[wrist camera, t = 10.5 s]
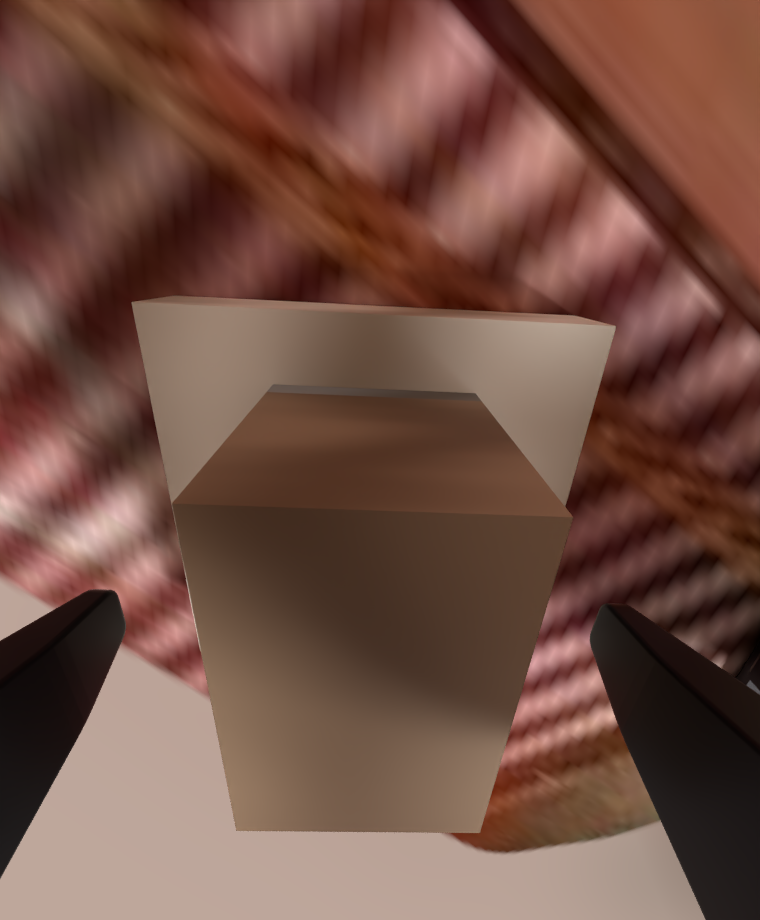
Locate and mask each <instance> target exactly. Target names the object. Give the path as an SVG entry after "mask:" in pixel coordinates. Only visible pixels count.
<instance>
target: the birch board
mask: <svg viewBox="0 0 760 920" xmlns="http://www.w3.org/2000/svg"><path fill="white" fill-rule="evenodd" d="M131 303H132V308H133V313H134V319H135V324H136V329H137V334H138V339H139V344H140V349H141V354H142V359H143V364H144V369H145V374H146V379H147V384H148V389H149V394H150V399H151V404H152V409H153V414H154V419H155V424H156V429H157V434H158V440H159V445H160V450H161V455H162V460H163V465H164V470H165V475H166V480H167V485H168V490H169V495H170V500H171V505H172V503H173V502H174V500H175V499H176V498H177V497H178V496H179V494H180V493H181V492H182V491H183V490H184V489H185V487H186V486H187V485H188V484H189V483H190V482H191V480H192V479H193V478H194V477H195V476H196V474H197V473H198V472H199V471H200V470H201V469H202V467H203V466H204V465H205V464H206V463H207V461H208V460H209V459H210V458H211V457H212V456H213V454H214V453H215V452H216V451H217V450H218V449H219V447H220V446H221V445H222V444H223V443H224V441H225V440H226V439H227V438H228V437H229V436H230V434H231V433H232V432H233V431H234V430H235V429H236V427H237V426H238V425H239V424H240V423H241V421H242V420H243V419H244V418H245V417H246V416H247V414H248V413H249V412H250V411H251V410H252V409H253V407H254V406H255V405H256V404H257V403H258V401H259V400H260V399H261V398H262V397H263V396H264V394H265V393H266V392H267V391H268V390H269V389H270V387H271V386H272V385H273V384H275V385H298V386H321V387H344V388H367V389H389V390H412V391H435V392H458V393H476V395H477V396H478V397H479V398H480V400H481V401H482V402H483V404H484V405H485V406H486V407H487V409H488V410H489V411H490V412H491V414H492V415H493V416H494V417H495V419H496V420H497V421H498V423H499V424H500V425H501V426H502V428H503V429H504V430H505V431H506V433H507V434H508V435H509V436H510V438H511V439H512V440H513V441H514V443H515V444H516V445H517V447H518V448H519V449H520V450H521V452H522V453H523V454H524V455H525V457H526V458H527V459H528V460H529V462H530V463H531V464H532V466H533V467H534V468H535V469H536V471H537V472H538V473H539V474H540V476H541V477H542V478H543V479H544V481H545V482H546V483H547V485H548V486H549V487H550V488H551V490H552V491H553V492H554V493H555V495H556V496H557V497H558V498H559V500H560V501H561V502H562V504H563V505H564V506H566V502H567V499H568V495H569V492H570V488H571V485H572V481H573V478H574V474H575V471H576V467H577V463H578V460H579V456H580V453H581V449H582V446H583V442H584V439H585V435H586V432H587V428H588V425H589V421H590V418H591V414H592V410H593V407H594V403H595V400H596V396H597V393H598V389H599V386H600V382H601V379H602V375H603V372H604V368H605V365H606V361H607V357H608V354H609V350H610V347H611V343H612V340H613V336H614V333H615V329H616V326H614V325H610V324H606V323H602V322H598V321H594V320H590V319H586V318H582V317H578V316H574V315H554V314H534V313H514V312H494V311H474V310H454V309H434V308H414V307H394V306H374V305H354V304H334V303H315V302H295V301H275V300H255V299H235V298H215V297H195V296H168V297H161V298H155V299H148V300H142V301H135V302H131ZM172 510H173V507H172ZM173 515H174V512H173ZM174 520H175V517H174ZM175 525H176V522H175ZM176 530H177V527H176ZM177 535H178V532H177ZM178 540H179V538H178ZM179 545H180V543H179ZM180 550H181V548H180ZM181 556H182V553H181ZM182 561H183V558H182ZM183 566H184V563H183ZM184 571H185V568H184ZM185 576H186V573H185ZM186 581H187V578H186ZM187 586H188V583H187ZM188 591H189V588H188ZM189 596H190V593H189ZM190 601H191V598H190ZM191 606H192V603H191ZM192 611H193V608H192ZM193 616H194V614H193ZM194 621H195V619H194ZM195 626H196V624H195ZM196 631H197V629H196ZM197 636H198V634H197ZM198 641H199V639H198ZM199 646H200V644H199ZM200 650H201V649H200Z"/></svg>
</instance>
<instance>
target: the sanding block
mask: <svg viewBox="0 0 760 920" xmlns="http://www.w3.org/2000/svg"><path fill="white" fill-rule="evenodd" d="M172 507H173V512H174V517H175V522H176V527H177V532H178V538H179V543H180V548H181V553H182V558H183V563H184V568H185V573H186V578H187V583H188V588H189V593H190V598H191V603H192V608H193V614H194V619H195V624H196V629H197V634H198V639H199V644H200V649H201V654H202V659H203V664H204V669H205V674H206V679H207V684H208V689H209V695H210V700H211V705H212V710H213V715H214V720H215V725H216V730H217V735H218V740H219V745H220V750H221V755H222V760H223V765H224V770H225V775H226V780H227V786H228V790H229V796H230V800H231V806H232V811H233V816H234V821H235V826H236V831H321V832H323V831H324V832H327V831H328V832H433V833H437V832H438V833H480V830H481V827H482V823H483V820H484V817H485V813H486V810H487V806H488V803H489V800H490V796H491V793H492V790H493V786H494V783H495V780H496V776H497V773H498V769H499V766H500V763H501V759H502V756H503V753H504V749H505V746H506V742H507V739H508V736H509V732H510V729H511V726H512V722H513V719H514V716H515V712H516V709H517V705H518V702H519V699H520V695H521V692H522V689H523V685H524V682H525V678H526V675H527V672H528V668H529V665H530V662H531V658H532V655H533V652H534V648H535V645H536V641H537V638H538V635H539V631H540V628H541V625H542V621H543V618H544V614H545V611H546V608H547V604H548V601H549V598H550V594H551V591H552V588H553V584H554V581H555V577H556V574H557V571H558V567H559V564H560V561H561V557H562V554H563V550H564V547H565V544H566V540H567V537H568V534H569V530H570V527H571V524H572V520H573V516H572V515H571V514H570V512H569V511H568V510H567V509H566V507H565V506H564V505H563V504H562V502H561V501H560V500H559V498H558V497H557V496H556V495H555V493H554V492H553V491H552V490H551V488H550V487H549V486H548V485H547V483H546V482H545V481H544V479H543V478H542V477H541V476H540V474H539V473H538V472H537V471H536V469H535V468H534V467H533V466H532V464H531V463H530V462H529V460H528V459H527V458H526V457H525V455H524V454H523V453H522V452H521V450H520V449H519V448H518V447H517V445H516V444H515V443H514V441H513V440H512V439H511V438H510V436H509V435H508V434H507V433H506V431H505V430H504V429H503V428H502V426H501V425H500V424H499V423H498V421H497V420H496V419H495V417H494V416H493V415H492V414H491V412H490V411H489V410H488V409H487V407H486V406H485V405H484V404H483V402H482V401H481V400H480V398H479V397H478V396H477V395H476V393H458V392H435V391H412V390H389V389H367V388H344V387H321V386H298V385H275V384H273V385H272V386H271V387H270V389H269V390H268V391H267V392H266V393H265V394H264V396H263V397H262V398H261V399H260V400H259V401H258V403H257V404H256V405H255V406H254V407H253V409H252V410H251V411H250V412H249V413H248V414H247V416H246V417H245V418H244V419H243V420H242V421H241V423H240V424H239V425H238V426H237V427H236V429H235V430H234V431H233V432H232V433H231V434H230V436H229V437H228V438H227V439H226V440H225V441H224V443H223V444H222V445H221V446H220V447H219V449H218V450H217V451H216V452H215V453H214V454H213V456H212V457H211V458H210V459H209V460H208V461H207V463H206V464H205V465H204V466H203V467H202V469H201V470H200V471H199V472H198V473H197V474H196V476H195V477H194V478H193V479H192V480H191V482H190V483H189V484H188V485H187V486H186V487H185V489H184V490H183V491H182V492H181V493H180V494H179V496H178V497H177V498H176V499H175V500H174V502H173V503H172Z"/></svg>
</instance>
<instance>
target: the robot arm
mask: <svg viewBox="0 0 760 920" xmlns="http://www.w3.org/2000/svg"><path fill="white" fill-rule="evenodd" d="M125 630H126V622H125V618H124V615H123V611H122V608H121V604H120V601H119V598H118V595H117V593H116V592H115V591H113V590H101V589H93V590H88V591H86V592H84V593H82V594H81V595H79V596H77V597H75V598H74V599H72V600H70V601H68V602H67V603H65V604H63V605H61V606H60V607H58V608H56V609H55V610H53V611H51V612H49V613H48V614H46V615H44V616H43V617H41V618H39V619H37V620H36V621H34V622H32V623H31V624H29V625H27V626H25V627H23V628H22V629H20V630H18V631H17V632H15V633H13V634H11V635H10V636H8V637H6V638H4V639H3V640H1V641H0V878H1V876H2V874H3V873H4V871H5V869H6V867H7V865H8V864H9V862H10V860H11V858H12V856H13V855H14V853H15V851H16V849H17V847H18V846H19V844H20V842H21V840H22V838H23V836H24V835H25V833H26V831H27V829H28V827H29V826H30V823H31V822H32V820H33V818H34V816H35V814H36V813H37V811H38V809H39V807H40V806H41V804H42V802H43V800H44V798H45V796H46V795H47V793H48V791H49V789H50V787H51V785H52V784H53V782H54V780H55V778H56V776H57V775H58V773H59V771H60V769H61V767H62V766H63V764H64V762H65V760H66V758H67V757H68V755H69V753H70V751H71V749H72V747H73V746H74V744H75V742H76V740H77V738H78V736H79V734H80V733H81V731H82V729H83V727H84V725H85V723H86V721H87V719H88V717H89V715H90V713H91V710H92V708H93V706H94V704H95V701H96V699H97V697H98V695H99V692H100V690H101V688H102V685H103V683H104V681H105V678H106V676H107V674H108V672H109V669H110V667H111V665H112V662H113V660H114V658H115V655H116V653H117V651H118V649H119V646H120V644H121V642H122V640H123V637H124V634H125ZM590 644H591V648H592V651H593V654H594V657H595V660H596V663H597V666H598V669H599V671H600V674H601V677H602V680H603V683H604V686H605V689H606V692H607V695H608V697H609V700H610V703H611V706H612V709H613V712H614V715H615V718H616V720H617V723H618V725H619V728H620V731H621V733H622V736H623V738H624V740H625V743H626V745H627V747H628V749H629V752H630V754H631V756H632V758H633V760H634V763H635V765H636V767H637V769H638V771H639V774H640V776H641V778H642V780H643V783H644V785H645V787H646V789H647V791H648V794H649V796H650V798H651V800H652V802H653V805H654V807H655V809H656V811H657V813H658V816H659V818H660V820H661V822H662V824H663V827H664V829H665V831H666V833H667V835H668V837H669V840H670V842H671V844H672V846H673V849H674V851H675V853H676V855H677V858H678V860H679V862H680V864H681V866H682V869H683V871H684V872H685V875H686V877H687V879H688V882H689V884H690V886H691V888H692V891H693V893H694V895H695V897H696V899H697V902H698V904H699V906H700V908H701V911H702V913H703V915H704V917H705V919H706V920H760V642H759V643H758V645H757V646H756V648H755V650H754V651H753V653H752V654H751V656H750V658H749V659H748V661H747V662H746V664H745V666H744V667H743V669H742V670H741V672H740V674H739V675H738V677H737V679H736V678H735V677H733V676H732V675H730V674H729V673H727V672H726V671H724V670H723V669H721V668H720V667H719V666H717V665H716V664H714V663H713V662H711V661H710V660H708V659H707V658H705V657H704V656H702V655H701V654H699V653H698V652H696V651H695V650H694V649H692V648H691V647H689V646H688V645H686V644H685V643H683V642H682V641H680V640H679V639H677V638H676V637H674V636H673V635H671V634H670V633H669V632H667V631H666V630H664V629H663V628H661V627H660V626H658V625H657V624H655V623H654V622H652V621H651V620H649V619H648V618H646V617H645V616H644V615H642V614H641V613H639V612H638V611H636V610H635V609H633V608H632V607H630V606H629V605H626V604H618V603H606V604H603V605H602V606H601V607H600V609H599V612H598V614H597V617H596V620H595V623H594V625H593V628H592V631H591V634H590Z"/></svg>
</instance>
